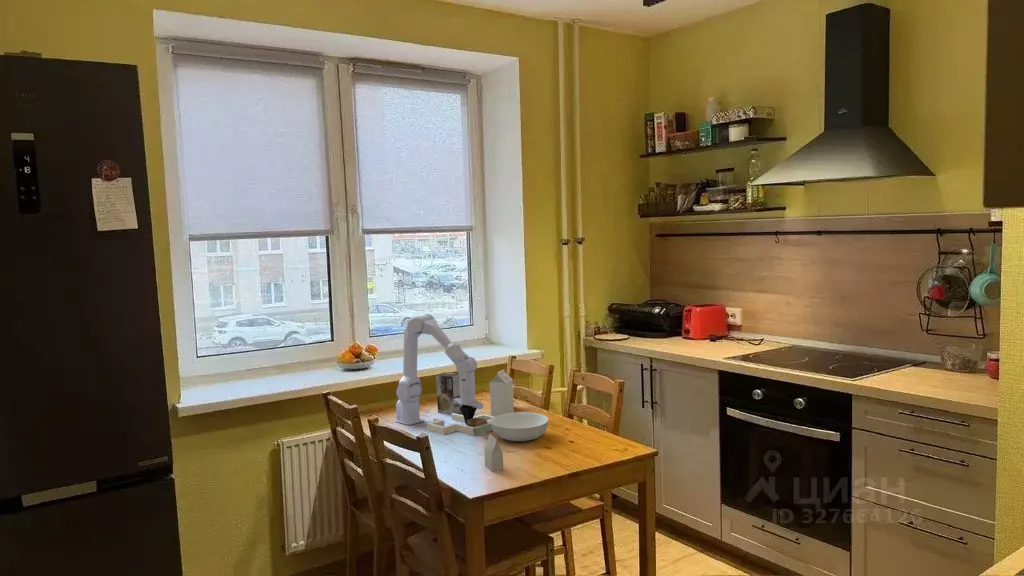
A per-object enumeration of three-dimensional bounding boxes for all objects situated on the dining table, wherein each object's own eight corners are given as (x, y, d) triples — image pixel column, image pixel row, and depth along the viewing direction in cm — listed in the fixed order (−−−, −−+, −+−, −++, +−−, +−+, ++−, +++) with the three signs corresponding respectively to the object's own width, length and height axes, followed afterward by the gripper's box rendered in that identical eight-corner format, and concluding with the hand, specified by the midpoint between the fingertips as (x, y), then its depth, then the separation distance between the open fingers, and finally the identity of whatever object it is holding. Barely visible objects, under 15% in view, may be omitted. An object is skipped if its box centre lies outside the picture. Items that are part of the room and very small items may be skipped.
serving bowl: (482, 444, 250) (482, 425, 250) (503, 428, 270) (503, 410, 269) (538, 448, 243) (538, 429, 243) (556, 432, 263) (555, 413, 262)
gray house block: (492, 472, 221) (491, 440, 220) (485, 466, 227) (483, 435, 226) (503, 470, 222) (502, 439, 221) (495, 464, 229) (494, 433, 228)
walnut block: (467, 430, 269) (467, 419, 268) (476, 427, 272) (475, 417, 272) (478, 432, 265) (478, 422, 264) (487, 430, 268) (486, 419, 268)
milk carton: (491, 419, 283) (489, 372, 282) (498, 414, 290) (496, 368, 288) (507, 420, 281) (505, 373, 279) (514, 415, 287) (512, 369, 286)
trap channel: (421, 428, 273) (421, 421, 273) (465, 415, 290) (465, 409, 289) (463, 439, 257) (462, 432, 256) (507, 425, 273) (506, 418, 273)
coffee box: (463, 411, 297) (462, 373, 296) (454, 415, 292) (452, 376, 291) (446, 409, 302) (444, 371, 301) (437, 412, 297) (435, 374, 296)
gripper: (447, 389, 272) (448, 423, 273) (472, 394, 262) (474, 430, 263) (460, 385, 277) (462, 419, 278) (486, 390, 267) (487, 426, 268)
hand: (468, 424), depth 271 cm, fingers closed
